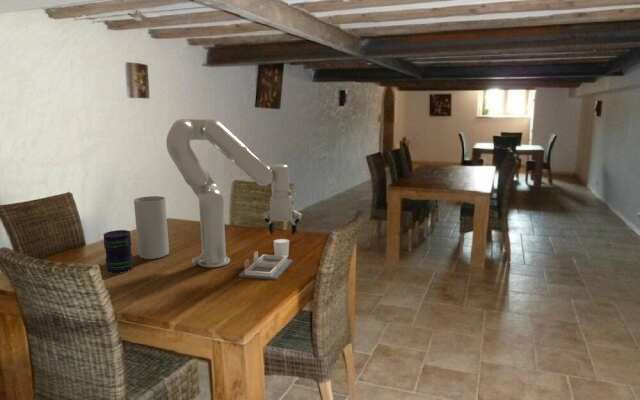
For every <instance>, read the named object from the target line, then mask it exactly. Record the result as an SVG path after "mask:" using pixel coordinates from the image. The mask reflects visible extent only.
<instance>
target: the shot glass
mask: <svg viewBox="0 0 640 400" xmlns="http://www.w3.org/2000/svg"><path fill="white" fill-rule="evenodd" d="M273 250H274V251H273V252H274V255H278V256H287V258H289V250H290V240H289V239H287V238H277V239H274V240H273Z"/></svg>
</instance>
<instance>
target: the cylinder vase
mask: <svg viewBox="0 0 640 400" xmlns="http://www.w3.org/2000/svg"><path fill="white" fill-rule="evenodd" d="M133 204H134V205H133V207H134V216H135V218H134V219H135V227H136V230H135V231H136V238H137V239H136V240H137V241H136V242H137V250H138V256H139V258H140V257H141V259H143V258H144V259H143V260H157V259H156V258H158V259H162V258H165V257H166V255H167V256H168V255H169V253H170V248H169V247H170V246H169V234H168V221H167V220H168V217H167V206H166V197H165V196H159V195H158V196H157V195H149V196H141V197H136V198H135V199H133ZM164 256H165V257H164ZM161 257H162V258H161Z"/></svg>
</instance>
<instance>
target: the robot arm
mask: <svg viewBox="0 0 640 400" xmlns="http://www.w3.org/2000/svg"><path fill="white" fill-rule="evenodd" d="M165 140H166V142H165V143H166V144H165V145H166V149H167V152H168V154H169V156H170V159H171V160H172V162H173V163H174V164H175V166H176V168H177V169H178V171H179V173H180V175H181V176H182V177H183V179H184V180H183V181H185V183H186V185H188V186H189V187H190V188H191V190H192V191H193V193H194V194H195V196H196V198H197V199H198V209H199V223H200V225H199V227H200V238H201V239H200V241H201V253H199V255H198V256H197V257H193V258H191V263H192V264H195V263H198V265H199V266H201V267H204V268H219V267H223V266H226V265H228V264H230V261H231V258H230V257H228V256H227V253H226V252H227V250H226V231H225V230H226V229H225V198H224V195H223V193H222V191H221V190H220V188H219V186H218V184H217V183H216V181H215V180H214V178H213V177H212V175H211V174H210V172H209V170H208V169H207V167H206V166H205V165H204V164H203V163H201V161H200V160H199V159H198V157H197V155H196V154H195V152H194V150H193V148H192V147H191V145H190V144H191V143H190V141H208V142H209V143H210V144H211V145H212V146H213V147H214V148H216V150H218V151H219V152H220V153H222V155H223V156H224V157H225V158H227V159H228V160H229V161H230V162H231V163H232V164H234V165H235V166H237V167H238V168H239V169H241V170H242V171H243V172H244V173H245V174H246V175H247V176H248V177H249V178H251V179H252V180H253V181H254V182H255V183H256V184H257V185H258V186H261V187H266V186H269V185H271V187H270V188H271V197H270V198H269V199H270V200H269V201H270V202H269V210H268V211H266V212H264V213H262V218H263V220H264V221H265V222H266V223H267V224H268V229H269V230H268V231H269V234H271V235H273V234H274V232H275V224H274V221H276V222H279V221H280V222H290V223H291V224H292V225H291V234H292V235H296V233H297V231H298V230H297V224H298V223H299V222H300V221H301V220H302V217H303V215H302V213H300V212H298V211H296V210H295V204H294V199H293V196H291V195H293V194H294V191H292V190H291V189H290V172H289V166H288V164H284V163H283V164H282V163H278V164H277V163H276V164H272V165H271V164H269V165H268V164H264V163H263V161H261V160H260V159H259V158H258V157H257V156H256V155H254V153H253V152H251V151H250V149H249V147H247V146H246V145H245V144H244V143H243V142H242V141H241V140H240V139H239V138H237V136H235V135H234V134H233V133H232V132H231V131H230V130H229V129H228V128H227V127H225V125H223V124H222V123H221V122H220V121H219V120H217V119H197V118H196V119H195V118H194V119H193V118H192V119H191V118H181V119H177V120H176V121H174V122H173V123H172V125H171V127H170V129H169V131H168V132H167V136H166V139H165ZM268 215H269V217H268ZM295 217H296V218H295Z"/></svg>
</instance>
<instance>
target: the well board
mask: <svg viewBox="0 0 640 400" xmlns="http://www.w3.org/2000/svg"><path fill="white" fill-rule="evenodd" d="M243 262H244V265H243V266H244V269H243V270H242V271H241V272H240V273H238V277H242V278H249V279H250V278H251V279H263V280H264V279H265V280H275V281H276V280H278V279H279V278H280V276H281V275H282V274H283V273H284V272H285V271H286V269H288V268H289V267H290V265H291V264H292V263H293V259H289V258H288V257H287V256H278V255H275V254H261V255H260V256H259V251H258V250H257V251H256V250H255V251H254V252H253V261H252V262H251V263H250V258H246V259H245V260H243Z"/></svg>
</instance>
